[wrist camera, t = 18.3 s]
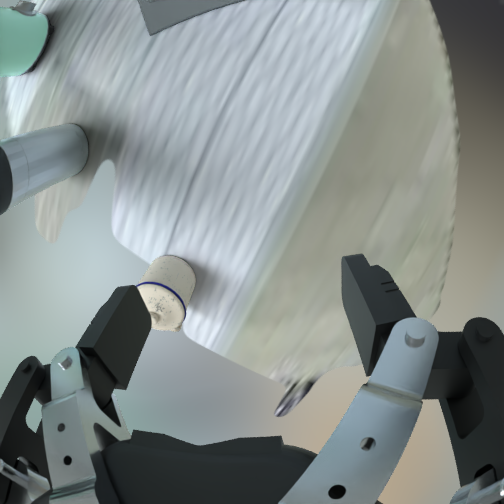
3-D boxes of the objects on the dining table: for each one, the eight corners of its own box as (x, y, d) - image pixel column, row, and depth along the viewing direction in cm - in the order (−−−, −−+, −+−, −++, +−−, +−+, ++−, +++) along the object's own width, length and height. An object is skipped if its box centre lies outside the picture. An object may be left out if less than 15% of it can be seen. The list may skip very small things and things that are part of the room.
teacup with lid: (141, 257, 45) (111, 297, 34) (188, 249, 43) (167, 292, 33) (164, 310, 50) (145, 355, 40) (208, 307, 49) (195, 355, 39)
